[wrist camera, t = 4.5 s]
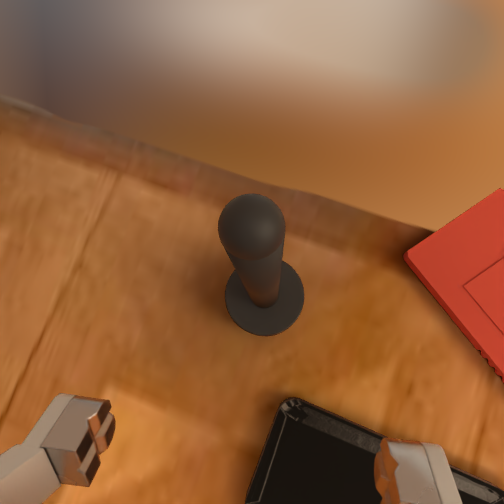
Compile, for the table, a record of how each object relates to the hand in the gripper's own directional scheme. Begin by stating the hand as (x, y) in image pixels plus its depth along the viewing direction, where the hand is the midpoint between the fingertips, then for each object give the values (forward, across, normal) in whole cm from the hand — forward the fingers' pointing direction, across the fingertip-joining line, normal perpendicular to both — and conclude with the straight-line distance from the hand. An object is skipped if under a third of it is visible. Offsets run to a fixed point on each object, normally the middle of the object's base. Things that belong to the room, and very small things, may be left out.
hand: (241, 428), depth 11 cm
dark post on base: (+14, 0, +6) cm, 16 cm away
